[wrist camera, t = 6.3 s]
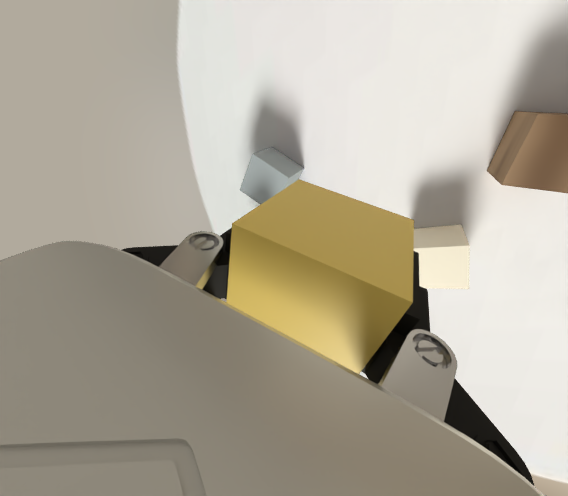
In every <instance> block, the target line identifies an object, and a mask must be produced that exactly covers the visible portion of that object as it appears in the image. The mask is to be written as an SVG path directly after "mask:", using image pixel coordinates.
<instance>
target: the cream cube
mask: <svg viewBox="0 0 568 496" xmlns="http://www.w3.org/2000/svg"><path fill="white" fill-rule="evenodd" d="M414 251H415V252H418V253H419V286H421V287H423V288H439V289H469V243H468V241H467V238H466V236H465V233H464V230H463V228H462V225H461V224H460V225H449V226H438V227H427V228H416V229H414Z"/></svg>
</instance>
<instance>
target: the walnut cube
mask: <svg viewBox="0 0 568 496" xmlns="http://www.w3.org/2000/svg"><path fill="white" fill-rule="evenodd" d="M487 171H488V172H489V173H490V174H491V175H492V176H493V177H494V178H495V179H496V180H497V181H498V182H499V183H500V184H501V185H507V186H515V187H523V188H531V189H539V190H546V191H554V192H562V193H568V114H567V113H543V112H520V111H515V112H514V114H513V116H512V118H511V120H510V123H509V125H508V127H507V129H506V131H505V133H504V135H503V137H502V140H501V142H500V144H499V146H498V148H497V150H496V152H495V155H494V157H493V159H492V161H491V163H490V165H489V167H488V169H487Z"/></svg>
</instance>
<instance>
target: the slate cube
mask: <svg viewBox="0 0 568 496" xmlns="http://www.w3.org/2000/svg"><path fill="white" fill-rule="evenodd" d="M303 170H304V168H303V167H302V166H300V165H299V164H297V163H296V162H294V161H293V160H291V159H290V158H288V157H287V156H285V155H284V154H282V153H281V152H279V151H277V150H276V149H274V148H273V147H271V148H268V149H265V150H262V151H259V152H256V153H253V154H252V157H251V160H250V163H249V165H248V168H247V171H246V174H245V177H244V179H243V182H242V185H241V188H240V191H242V192H243V193H245V194H246V195H248V196H249V197H251V198H252V199H253V200H255V201H256V202H258V203H259V204H262V203H264V202H265V201H267V200H268V199H270V198H271V197H273V196H274V195H276V194H277V193H279V192H280V191H282V190H283V189H285V188H286V187H288V186H289V185H291V184H292V183H294V182H296V181H297V180H298V179H299V177H300V176H301V174H302V172H303Z"/></svg>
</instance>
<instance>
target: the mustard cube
mask: <svg viewBox="0 0 568 496" xmlns="http://www.w3.org/2000/svg"><path fill="white" fill-rule="evenodd" d="M413 255H414V220H412V219H409V218H406V217H404V216H401V215H398V214H395V213H392V212H390V211H387V210H384V209H381V208H378V207H375V206H373V205H370V204H367V203H364V202H361V201H358V200H356V199H353V198H350V197H347V196H344V195H342V194H339V193H336V192H333V191H330V190H327V189H325V188H322V187H319V186H316V185H313V184H310V183H308V182H305V181H302V180H297V181H296V182H294V183H292V184H291V185H289V186H288V187H286V188H285V189H283V190H282V191H280V192H279V193H277V194H276V195H274V196H273V197H271V198H270V199H268V200H267V201H265V202H264V203H262V204H261V205H259V206H258V207H256V208H255V209H253V210H252V211H250V212H249V213H247V214H246V215H244V216H243V217H241V218H240V219H238V220H237V221H235V222H234V223H232V233H231V247H230V261H229V275H228V289H227V303H228V304H230V305H232V306H234V307H236V308H237V309H239V310H241V311H243V312H245V313H247V314H249V315H250V316H252V317H254V318H256V319H258V320H260V321H262V322H263V323H265V324H267V325H269V326H271V327H273V328H275V329H276V330H278V331H280V332H282V333H284V334H286V335H288V336H289V337H291V338H293V339H295V340H297V341H299V342H301V343H302V344H304V345H306V346H308V347H310V348H312V349H313V350H315V351H317V352H319V353H321V354H323V355H324V356H326V357H328V358H330V359H332V360H334V361H335V362H337V363H339V364H341V365H343V366H345V367H347V368H348V369H350V370H352V371H354V372H356V373H358V374H360V372H361V371H362V370H363V368H364V367H365V366H366V364H367V363H368V362H369V360H370V359H371V358H372V356H373V355H374V354H375V352H376V351H377V350H378V348H379V347H380V346H381V344H382V343H383V342H384V340H385V339H386V338H387V336H388V335H389V334H390V332H391V331H392V330H393V328H394V327H395V326H396V324H397V323H398V322H399V320H400V319H401V318H402V316H403V315H404V314H405V312H406V311H407V310H408V308H409V307H410V306H411V304H412V303H413Z"/></svg>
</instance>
